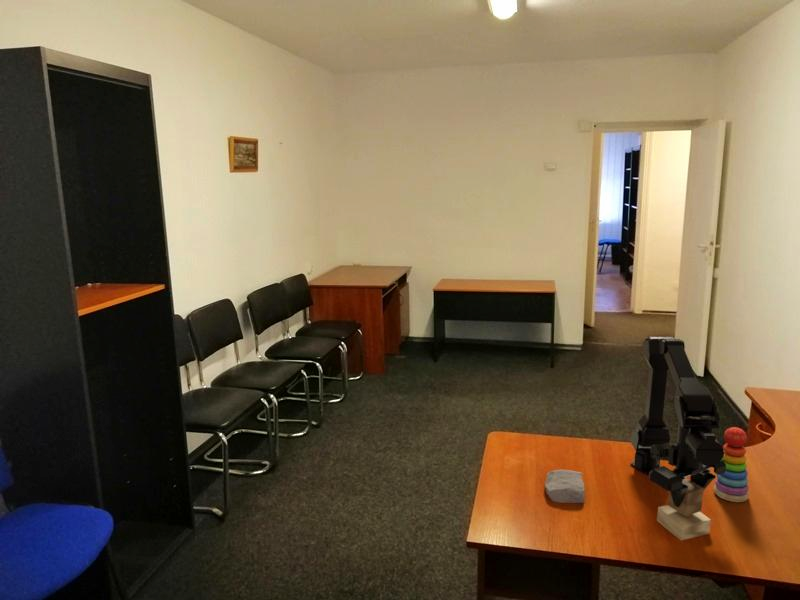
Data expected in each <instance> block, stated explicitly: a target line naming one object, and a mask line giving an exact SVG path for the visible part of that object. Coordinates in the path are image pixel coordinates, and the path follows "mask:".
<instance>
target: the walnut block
mask: <svg viewBox="0 0 800 600" xmlns="http://www.w3.org/2000/svg"><path fill="white" fill-rule="evenodd" d="M684 484H685V485H686V486H688V489H687V491H686V493H685V496H684V498H683V500H682V503H681V504H680V506H679V507H676V506H675V505H674V503H673V500H672V496H671V493H670V491H668V492H669V494H668V501H667V502H668V504H667V505H668V506H670V507H672V508H673V509H675V510H676V511H678V512H679V513H681V514H683V515H684V516H689V515H691V514H694V513H697V512H699V511H700V512H701V511H702V507H703V498H704V496H703V495H704V491H703V489H704V488H703V487H701V486H699V485H697V484H696V483H694V482H692V481H690V479H688V477H685V480H684Z"/></svg>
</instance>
